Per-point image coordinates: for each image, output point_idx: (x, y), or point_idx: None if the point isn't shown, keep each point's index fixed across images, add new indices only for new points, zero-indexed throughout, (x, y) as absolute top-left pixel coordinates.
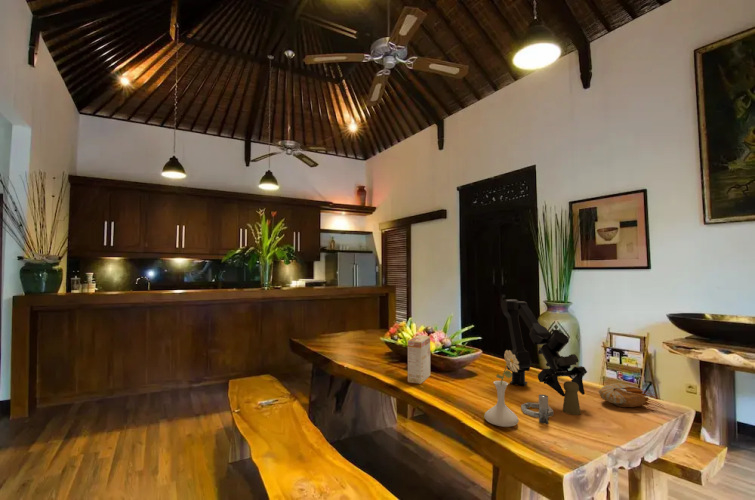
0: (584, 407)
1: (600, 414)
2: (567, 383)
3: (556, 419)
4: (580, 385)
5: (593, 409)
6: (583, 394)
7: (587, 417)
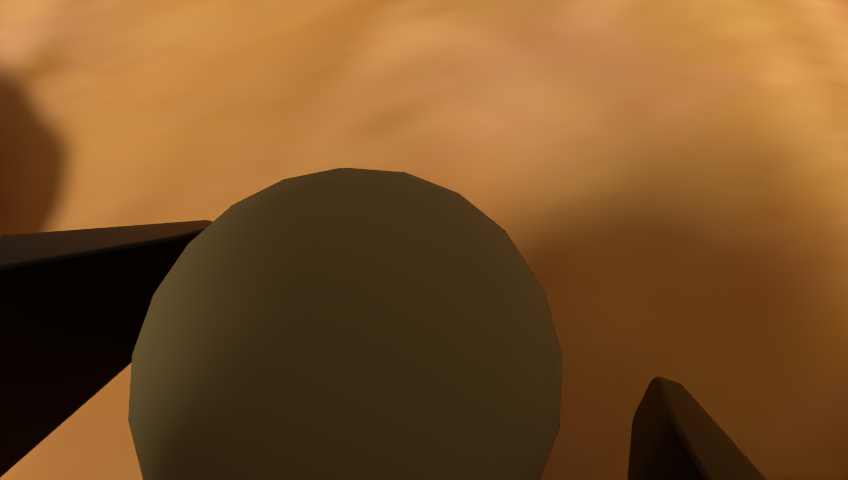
0: None
1: None
2: (506, 381)
3: (818, 382)
4: (80, 267)
5: None
6: None
7: None
